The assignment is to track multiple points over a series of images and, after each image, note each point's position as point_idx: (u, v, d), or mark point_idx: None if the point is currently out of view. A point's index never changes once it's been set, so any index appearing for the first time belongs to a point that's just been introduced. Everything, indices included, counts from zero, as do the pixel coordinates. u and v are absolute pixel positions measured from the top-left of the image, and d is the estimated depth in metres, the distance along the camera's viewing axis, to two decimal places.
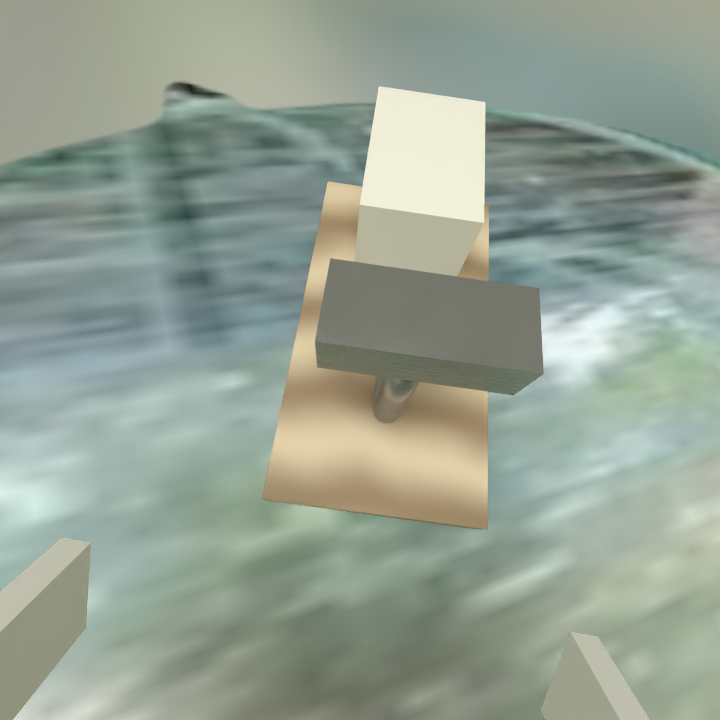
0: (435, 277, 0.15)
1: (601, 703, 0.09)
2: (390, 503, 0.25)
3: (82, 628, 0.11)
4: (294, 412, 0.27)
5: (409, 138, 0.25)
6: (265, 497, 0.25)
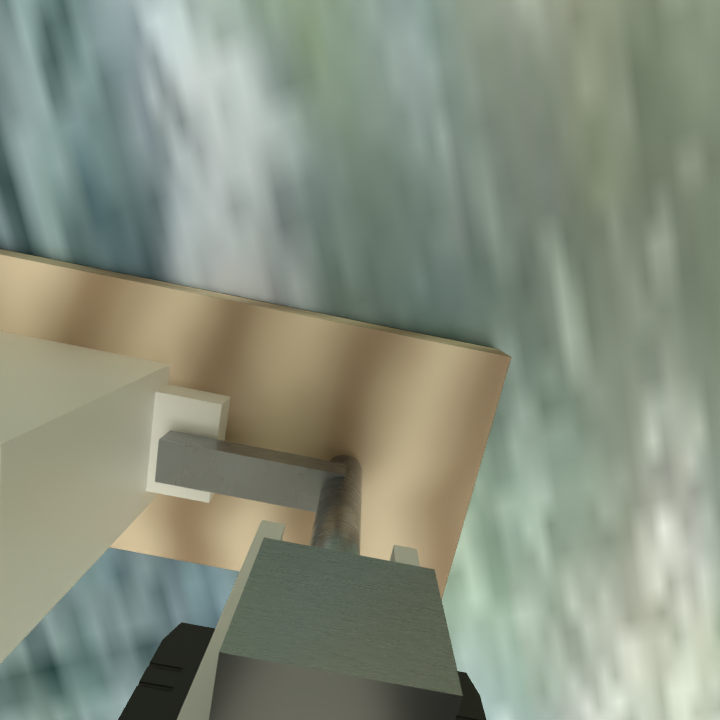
0: None
1: None
2: (462, 473, 0.20)
3: None
4: None
5: None
6: None
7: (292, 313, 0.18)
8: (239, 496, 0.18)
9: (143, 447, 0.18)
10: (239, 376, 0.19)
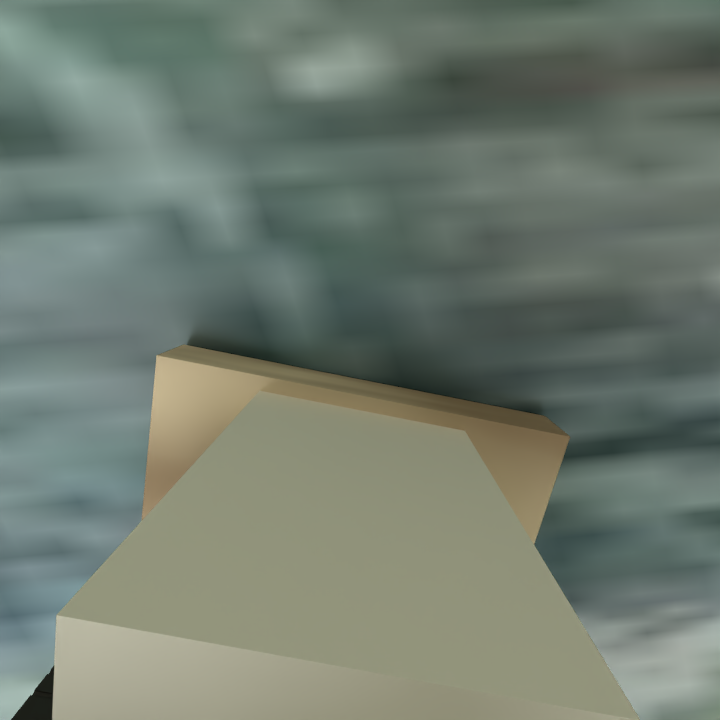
0: None
1: None
2: None
3: None
4: None
5: None
6: None
7: None
8: None
9: None
10: None
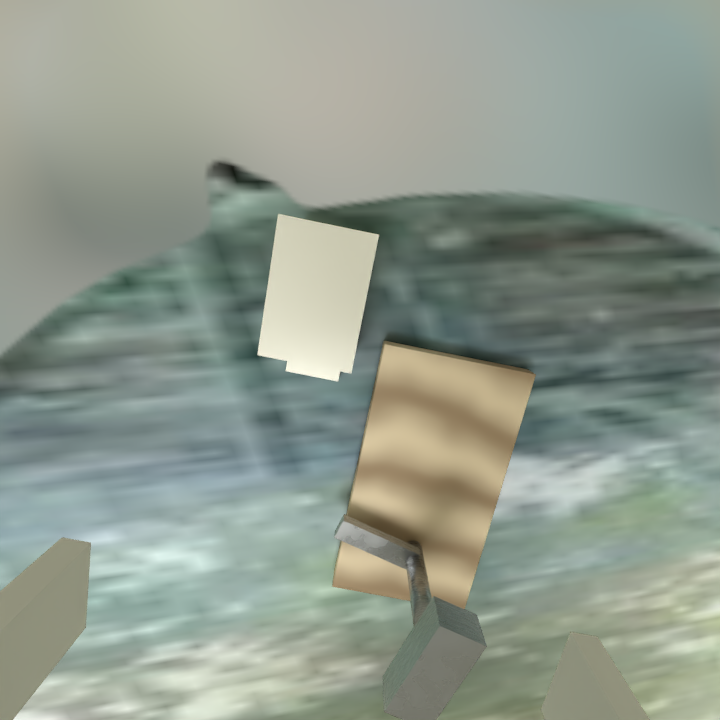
0: (413, 670, 0.27)
1: (601, 703, 0.09)
2: (408, 594, 0.42)
3: (82, 628, 0.11)
4: None
5: (301, 283, 0.28)
6: (334, 586, 0.42)
7: (489, 525, 0.40)
8: (370, 552, 0.38)
9: None
10: (461, 501, 0.40)
